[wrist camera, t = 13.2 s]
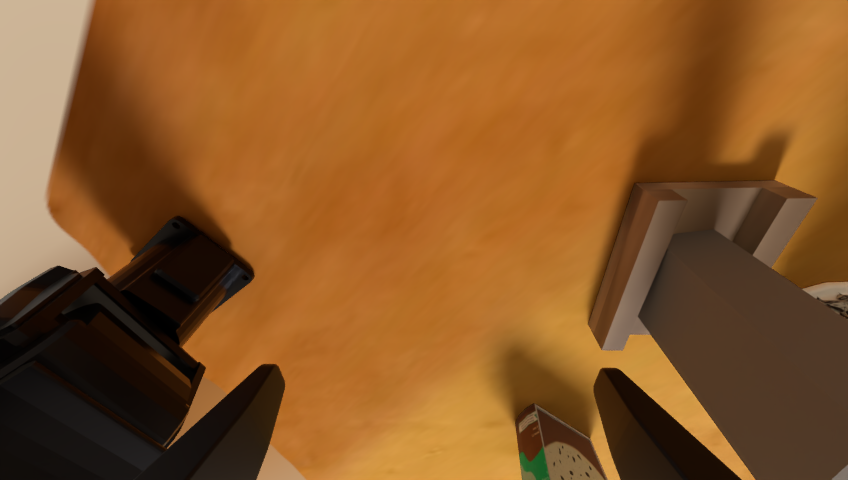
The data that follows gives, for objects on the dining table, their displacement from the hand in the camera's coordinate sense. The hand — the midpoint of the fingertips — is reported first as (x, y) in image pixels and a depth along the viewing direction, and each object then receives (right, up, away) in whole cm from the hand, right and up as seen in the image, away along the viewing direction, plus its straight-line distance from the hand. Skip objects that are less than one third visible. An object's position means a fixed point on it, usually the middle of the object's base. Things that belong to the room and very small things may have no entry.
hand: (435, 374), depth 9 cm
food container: (+12, -17, +26) cm, 33 cm away
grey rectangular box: (+16, +1, +13) cm, 21 cm away
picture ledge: (+17, +2, +13) cm, 21 cm away
